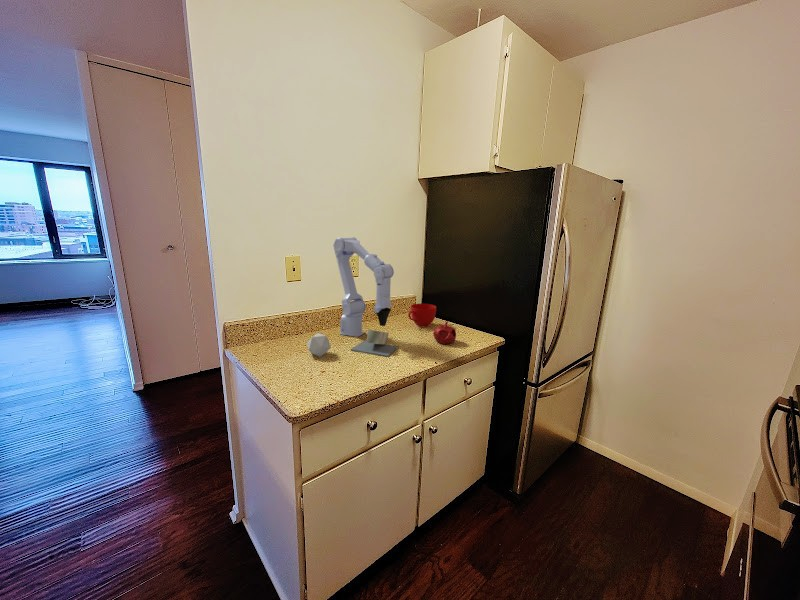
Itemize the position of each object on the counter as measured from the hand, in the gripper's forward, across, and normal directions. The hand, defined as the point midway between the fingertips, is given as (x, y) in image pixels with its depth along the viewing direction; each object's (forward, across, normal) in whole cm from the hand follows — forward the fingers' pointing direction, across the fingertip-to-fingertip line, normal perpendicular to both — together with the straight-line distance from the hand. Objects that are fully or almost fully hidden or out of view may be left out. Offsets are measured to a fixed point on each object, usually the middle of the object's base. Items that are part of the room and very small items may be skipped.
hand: (382, 325), depth 137 cm
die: (+8, -22, +17) cm, 29 cm away
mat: (+8, -8, 0) cm, 11 cm away
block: (+5, 0, 0) cm, 5 cm away
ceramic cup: (+8, +32, -7) cm, 34 cm away
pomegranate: (+8, +13, -24) cm, 29 cm away
